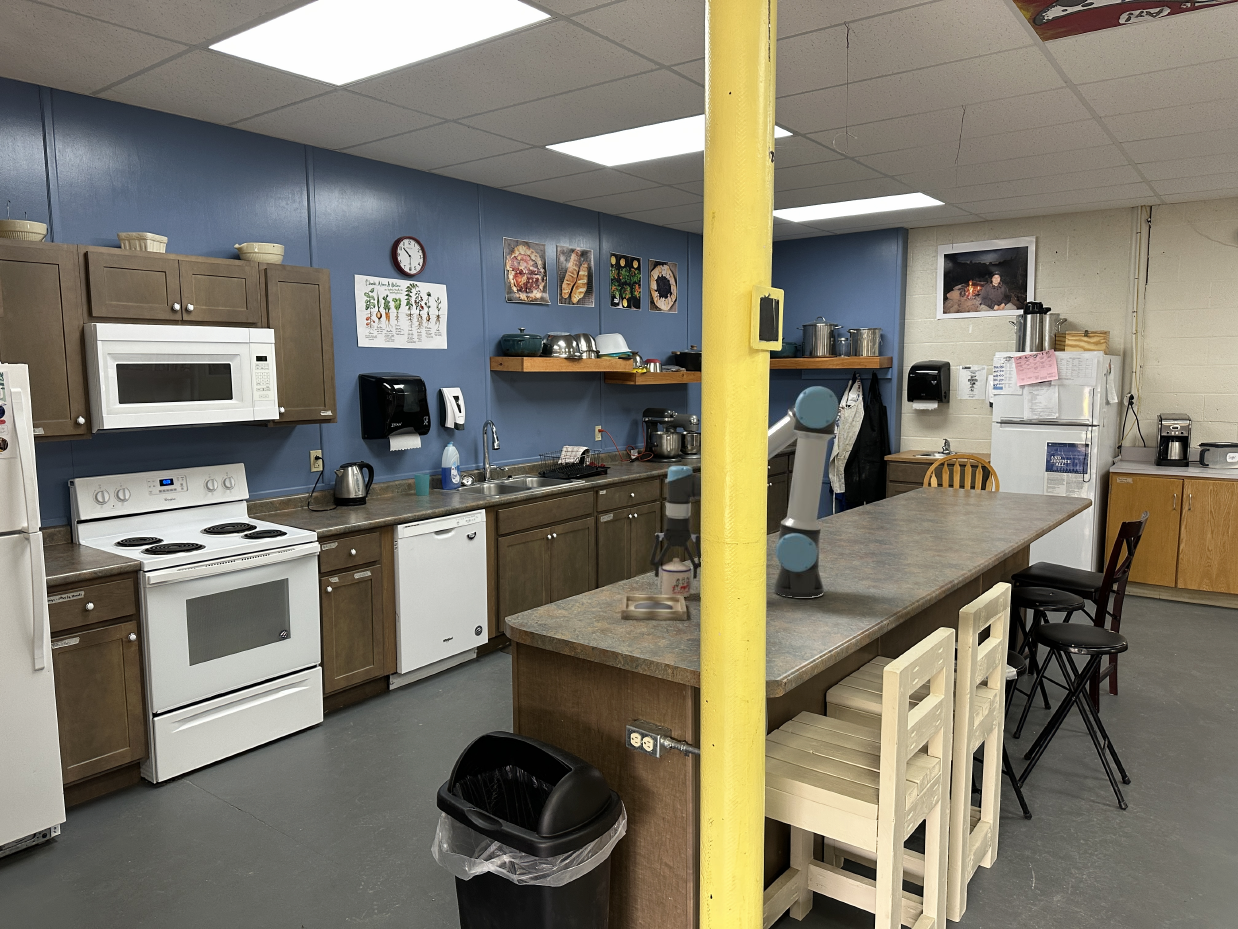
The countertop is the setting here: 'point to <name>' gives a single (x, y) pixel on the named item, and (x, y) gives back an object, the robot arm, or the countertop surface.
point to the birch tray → (653, 607)
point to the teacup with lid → (676, 578)
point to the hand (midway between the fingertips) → (675, 588)
